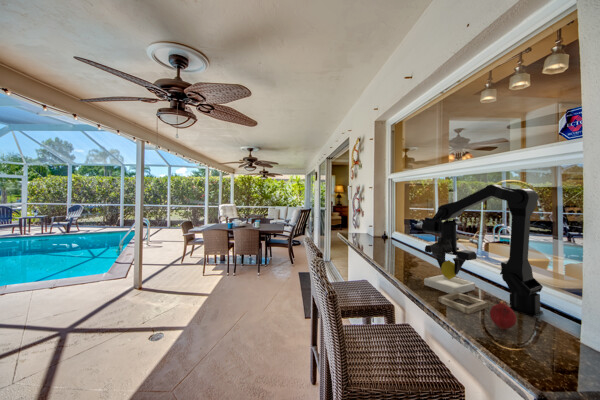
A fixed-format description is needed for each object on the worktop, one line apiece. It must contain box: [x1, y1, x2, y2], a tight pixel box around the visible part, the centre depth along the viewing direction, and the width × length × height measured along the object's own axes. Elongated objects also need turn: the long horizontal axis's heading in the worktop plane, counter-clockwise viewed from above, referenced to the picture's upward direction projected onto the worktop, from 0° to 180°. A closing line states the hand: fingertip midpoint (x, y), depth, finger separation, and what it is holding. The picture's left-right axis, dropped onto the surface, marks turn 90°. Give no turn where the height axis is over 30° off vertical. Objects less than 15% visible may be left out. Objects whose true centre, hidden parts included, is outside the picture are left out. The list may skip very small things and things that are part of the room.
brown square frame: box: [437, 292, 489, 315], centre depth 85 cm, size 10×10×2 cm
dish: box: [423, 274, 476, 294], centre depth 102 cm, size 13×13×3 cm
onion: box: [489, 299, 517, 330], centre depth 69 cm, size 6×6×8 cm
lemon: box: [440, 260, 457, 280], centre depth 102 cm, size 6×6×8 cm
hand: (449, 272), depth 102 cm, fingers closed on lemon, 6 cm apart
